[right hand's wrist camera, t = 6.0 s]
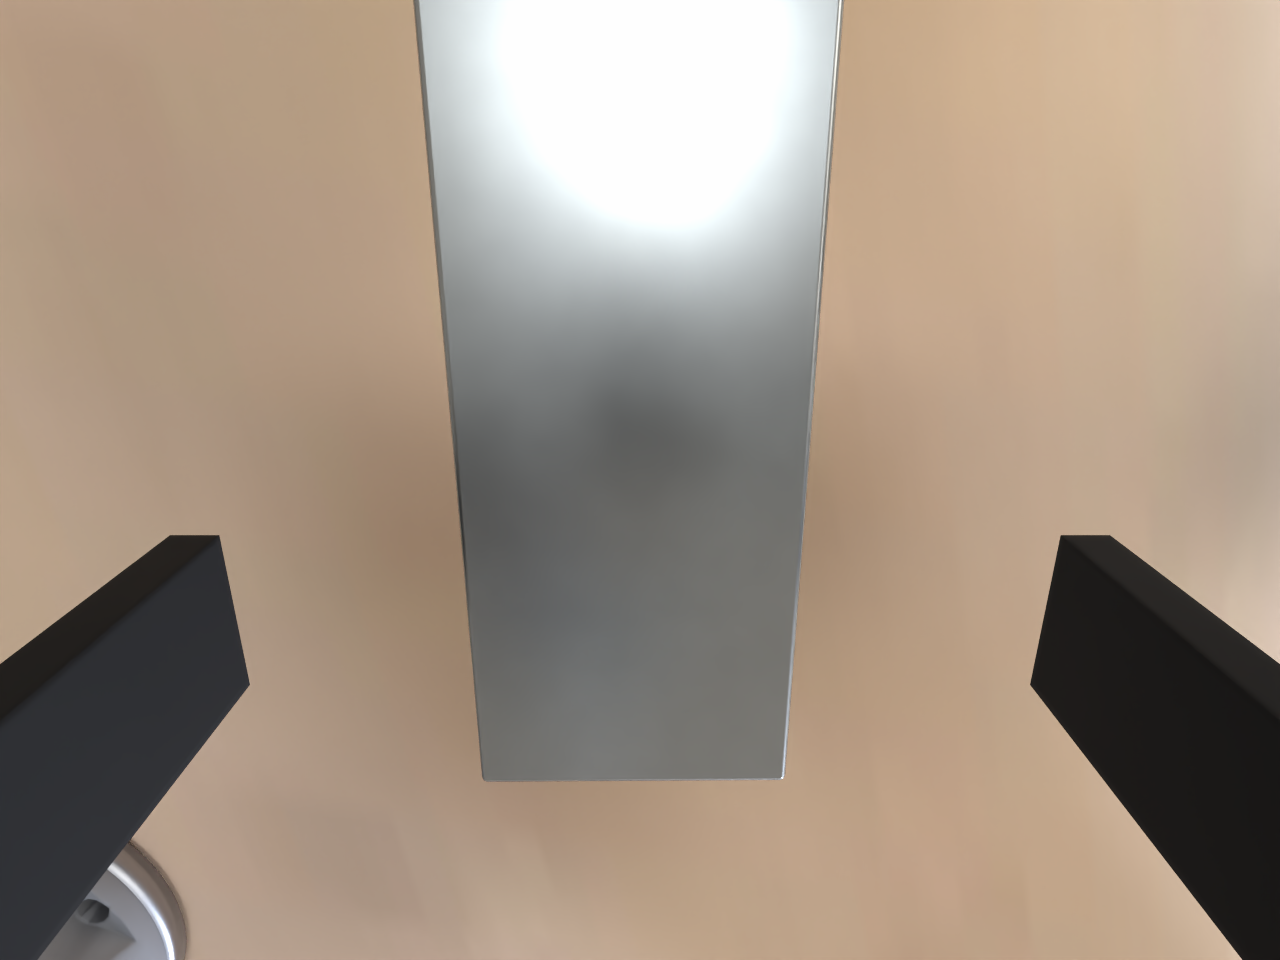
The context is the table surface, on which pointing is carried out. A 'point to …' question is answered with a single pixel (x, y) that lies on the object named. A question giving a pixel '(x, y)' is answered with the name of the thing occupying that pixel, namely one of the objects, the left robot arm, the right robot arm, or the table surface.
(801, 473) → the bar
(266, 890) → the table surface
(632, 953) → the table surface
